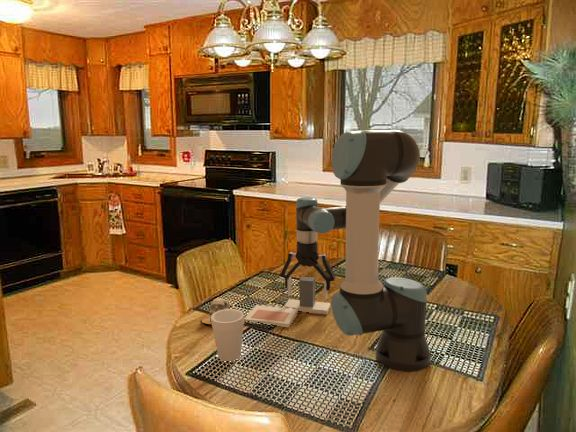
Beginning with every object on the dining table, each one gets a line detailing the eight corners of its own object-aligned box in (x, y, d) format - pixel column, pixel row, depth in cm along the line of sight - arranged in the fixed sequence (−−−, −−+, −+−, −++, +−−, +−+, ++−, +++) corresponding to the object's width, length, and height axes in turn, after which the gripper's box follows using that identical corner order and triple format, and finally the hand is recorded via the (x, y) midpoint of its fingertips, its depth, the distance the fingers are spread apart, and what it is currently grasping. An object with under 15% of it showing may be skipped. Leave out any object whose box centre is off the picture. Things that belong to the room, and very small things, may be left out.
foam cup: (230, 345, 134) (228, 306, 131) (252, 355, 128) (250, 314, 126) (206, 358, 127) (204, 317, 124) (228, 369, 121) (226, 326, 118)
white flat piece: (288, 328, 145) (288, 323, 145) (244, 323, 149) (243, 318, 149) (298, 312, 157) (298, 308, 157) (256, 308, 162) (256, 304, 161)
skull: (234, 326, 145) (213, 304, 144) (213, 343, 148) (192, 322, 147) (242, 310, 157) (222, 289, 156) (222, 326, 159) (203, 307, 159)
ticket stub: (327, 314, 155) (327, 284, 152) (284, 310, 159) (283, 280, 157) (330, 306, 161) (330, 277, 159) (289, 302, 166) (288, 274, 163)
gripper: (343, 240, 155) (342, 295, 159) (276, 236, 162) (278, 290, 166) (340, 245, 148) (339, 303, 152) (270, 241, 155) (272, 297, 159)
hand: (307, 296), depth 159 cm, fingers open, 13 cm apart
